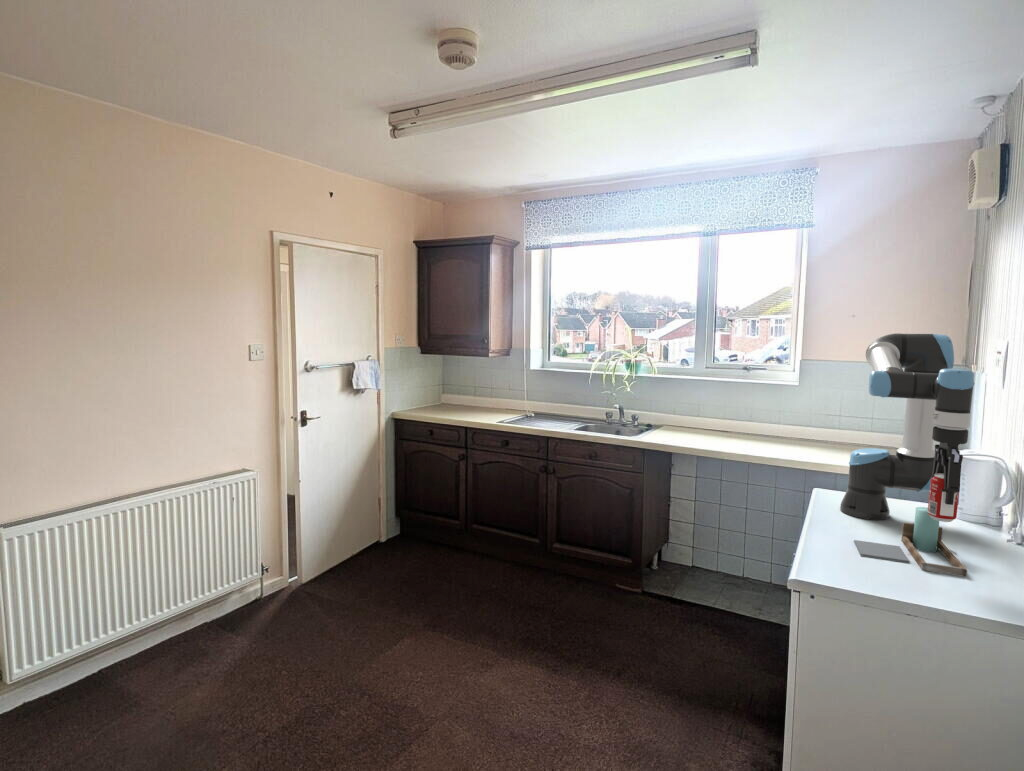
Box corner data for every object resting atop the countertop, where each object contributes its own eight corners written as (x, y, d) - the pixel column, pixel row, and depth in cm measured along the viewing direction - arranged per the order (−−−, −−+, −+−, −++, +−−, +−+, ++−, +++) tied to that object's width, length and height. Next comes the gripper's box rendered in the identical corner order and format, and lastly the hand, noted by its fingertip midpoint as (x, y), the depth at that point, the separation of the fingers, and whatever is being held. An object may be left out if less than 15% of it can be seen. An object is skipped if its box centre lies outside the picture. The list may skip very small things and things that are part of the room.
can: (910, 543, 178) (913, 505, 177) (933, 546, 176) (937, 508, 175) (915, 550, 173) (918, 511, 172) (939, 553, 171) (942, 514, 169)
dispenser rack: (901, 540, 181) (903, 522, 180) (939, 546, 177) (941, 527, 176) (921, 569, 159) (923, 549, 158) (966, 576, 155) (968, 555, 154)
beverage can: (961, 523, 152) (966, 480, 150) (934, 522, 153) (939, 478, 152) (947, 515, 158) (952, 473, 157) (922, 513, 159) (926, 471, 158)
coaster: (853, 541, 179) (854, 539, 179) (899, 548, 175) (899, 546, 174) (860, 555, 168) (860, 553, 168) (909, 562, 163) (909, 560, 163)
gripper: (923, 420, 163) (915, 499, 166) (945, 432, 145) (936, 520, 148) (955, 422, 160) (947, 502, 163) (982, 435, 142) (972, 525, 145)
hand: (942, 511), depth 155 cm, fingers closed on beverage can, 6 cm apart
